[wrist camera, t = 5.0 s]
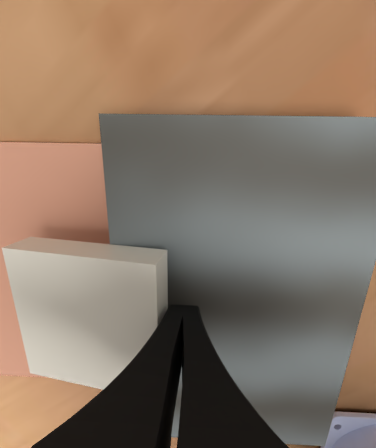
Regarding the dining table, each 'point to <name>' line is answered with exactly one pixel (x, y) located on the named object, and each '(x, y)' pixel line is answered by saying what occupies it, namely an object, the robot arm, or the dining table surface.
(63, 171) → the mat
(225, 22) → the dining table surface
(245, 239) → the plate
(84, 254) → the coaster
